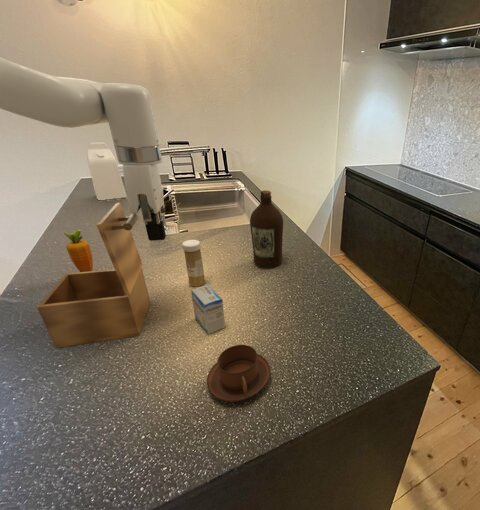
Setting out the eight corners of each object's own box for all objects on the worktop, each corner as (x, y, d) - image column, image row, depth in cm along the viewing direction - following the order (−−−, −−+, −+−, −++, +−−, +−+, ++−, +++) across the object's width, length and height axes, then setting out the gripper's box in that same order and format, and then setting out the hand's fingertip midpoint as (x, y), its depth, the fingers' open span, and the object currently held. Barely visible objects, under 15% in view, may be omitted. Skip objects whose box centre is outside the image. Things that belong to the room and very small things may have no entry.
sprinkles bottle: (185, 284, 90) (178, 243, 84) (197, 277, 94) (191, 237, 88) (197, 288, 89) (190, 247, 83) (209, 281, 93) (203, 241, 87)
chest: (55, 348, 65) (36, 307, 61) (79, 310, 77) (65, 273, 72) (139, 335, 70) (128, 296, 66) (150, 301, 82) (141, 266, 77)
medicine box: (194, 318, 77) (189, 290, 73) (212, 311, 80) (208, 283, 76) (208, 335, 72) (203, 305, 68) (226, 327, 75) (222, 298, 71)
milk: (123, 192, 162) (111, 141, 151) (127, 198, 155) (114, 144, 143) (95, 195, 155) (80, 141, 143) (98, 201, 147) (81, 144, 136)
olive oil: (258, 253, 111) (255, 186, 100) (286, 257, 111) (286, 189, 99) (247, 267, 102) (242, 194, 91) (278, 271, 101) (277, 198, 90)
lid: (96, 224, 58) (122, 221, 59) (116, 203, 69) (138, 200, 70) (125, 295, 65) (148, 291, 67) (139, 265, 77) (158, 262, 78)
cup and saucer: (282, 380, 62) (282, 358, 59) (228, 419, 54) (225, 396, 51) (248, 350, 69) (247, 328, 66) (196, 380, 61) (192, 357, 58)
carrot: (73, 279, 88) (55, 231, 81) (89, 271, 93) (74, 225, 86) (87, 282, 87) (70, 234, 81) (103, 274, 92) (88, 228, 85)
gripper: (126, 148, 66) (145, 227, 74) (105, 161, 53) (130, 255, 61) (166, 149, 68) (179, 225, 76) (154, 161, 56) (172, 251, 64)
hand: (157, 238), depth 69 cm, fingers closed
